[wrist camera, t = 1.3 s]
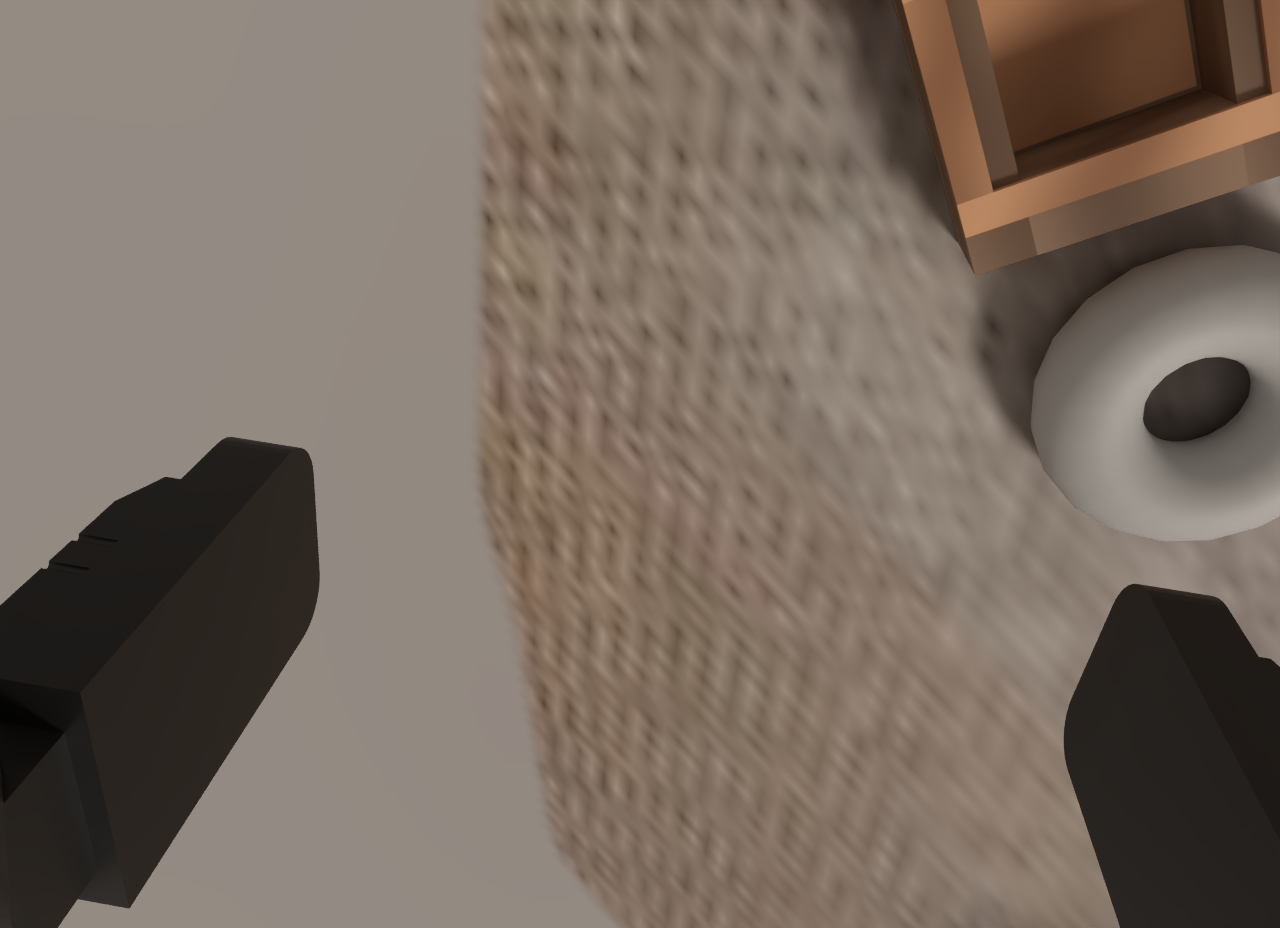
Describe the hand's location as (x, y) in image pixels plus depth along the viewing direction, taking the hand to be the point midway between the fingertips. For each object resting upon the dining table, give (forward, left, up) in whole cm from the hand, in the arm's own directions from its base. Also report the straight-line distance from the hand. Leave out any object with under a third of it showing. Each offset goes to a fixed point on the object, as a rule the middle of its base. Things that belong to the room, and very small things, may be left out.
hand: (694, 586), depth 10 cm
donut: (-10, +13, -24) cm, 29 cm away
